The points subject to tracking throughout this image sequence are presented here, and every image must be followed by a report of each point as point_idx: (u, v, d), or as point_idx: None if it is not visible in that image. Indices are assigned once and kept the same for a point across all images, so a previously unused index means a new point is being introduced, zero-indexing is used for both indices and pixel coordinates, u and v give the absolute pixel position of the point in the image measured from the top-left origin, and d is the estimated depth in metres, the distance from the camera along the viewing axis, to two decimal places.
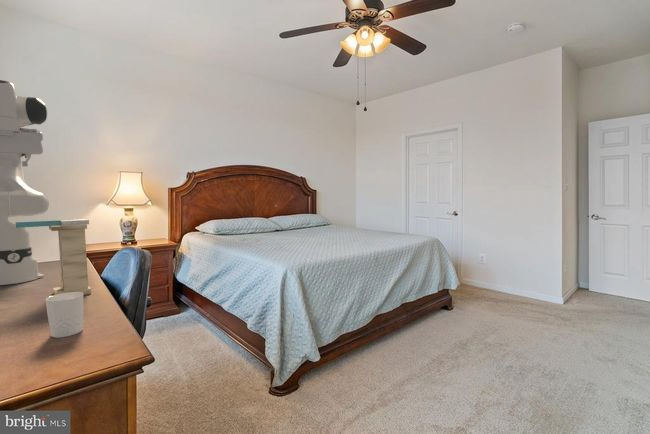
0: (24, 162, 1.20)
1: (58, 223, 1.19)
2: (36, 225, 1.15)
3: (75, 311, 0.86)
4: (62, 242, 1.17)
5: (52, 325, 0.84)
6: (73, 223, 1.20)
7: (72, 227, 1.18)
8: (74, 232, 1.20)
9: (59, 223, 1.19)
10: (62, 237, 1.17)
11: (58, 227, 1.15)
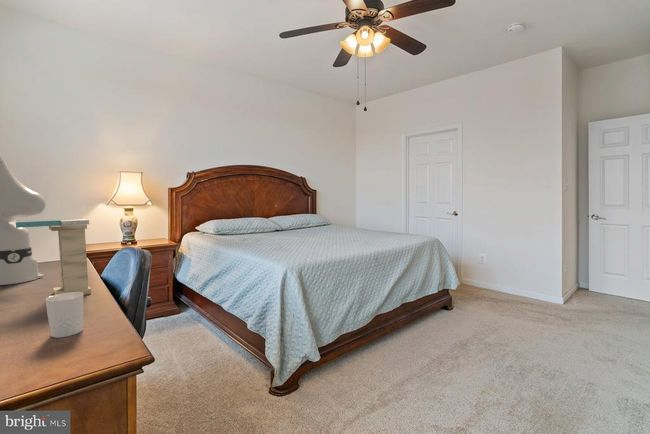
0: None
1: (58, 223, 1.19)
2: (36, 225, 1.15)
3: (75, 311, 0.86)
4: (62, 242, 1.17)
5: (52, 325, 0.84)
6: (73, 223, 1.20)
7: (72, 227, 1.18)
8: (74, 232, 1.20)
9: (59, 223, 1.19)
10: (62, 237, 1.17)
11: (58, 227, 1.15)
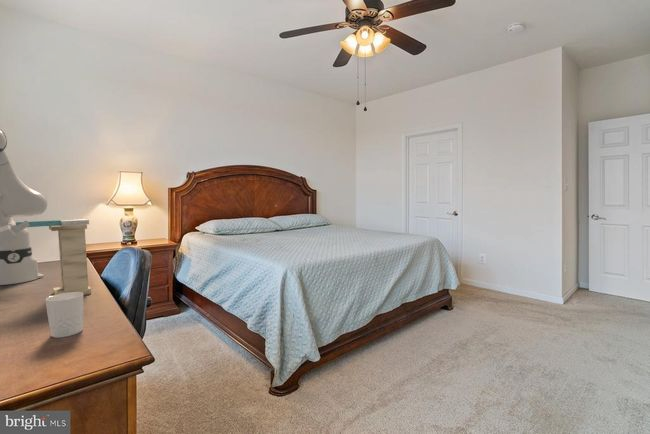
0: None
1: (58, 223, 1.19)
2: (36, 225, 1.15)
3: (75, 311, 0.86)
4: (62, 242, 1.17)
5: (52, 325, 0.84)
6: (73, 223, 1.20)
7: (72, 227, 1.18)
8: (74, 232, 1.20)
9: (59, 223, 1.19)
10: (62, 237, 1.17)
11: (58, 227, 1.15)
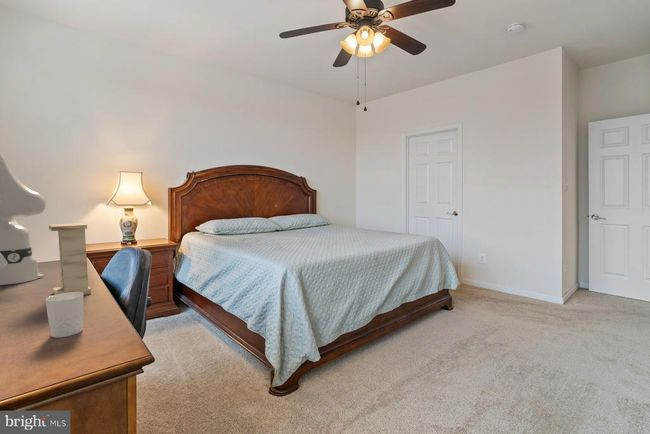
0: None
1: None
2: None
3: (75, 311, 0.86)
4: (62, 242, 1.17)
5: (52, 325, 0.84)
6: None
7: (72, 227, 1.18)
8: (74, 232, 1.20)
9: None
10: (62, 237, 1.17)
11: (58, 227, 1.15)
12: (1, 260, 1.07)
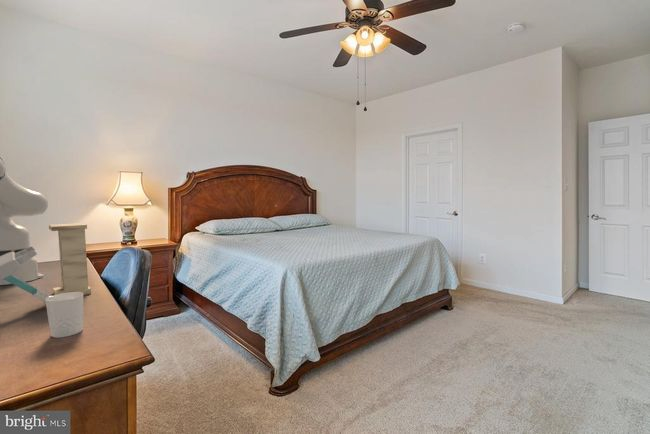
0: None
1: (31, 291, 1.04)
2: (11, 281, 1.01)
3: (75, 311, 0.86)
4: (62, 242, 1.17)
5: (52, 325, 0.84)
6: (45, 299, 1.04)
7: (72, 227, 1.18)
8: (74, 232, 1.20)
9: (32, 291, 1.04)
10: (62, 237, 1.17)
11: (58, 227, 1.15)
12: None
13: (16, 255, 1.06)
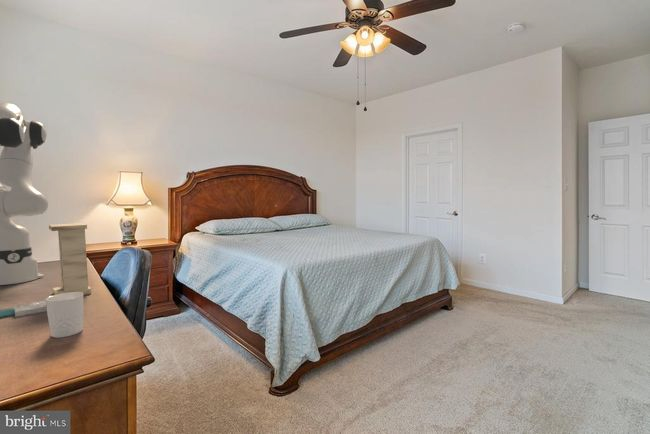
0: None
1: (11, 313, 1.01)
2: None
3: (75, 311, 0.86)
4: (62, 242, 1.17)
5: (52, 325, 0.84)
6: (29, 312, 1.02)
7: (72, 227, 1.18)
8: (74, 232, 1.20)
9: (12, 312, 1.01)
10: (62, 237, 1.17)
11: (58, 227, 1.15)
12: (40, 308, 1.03)
13: None
